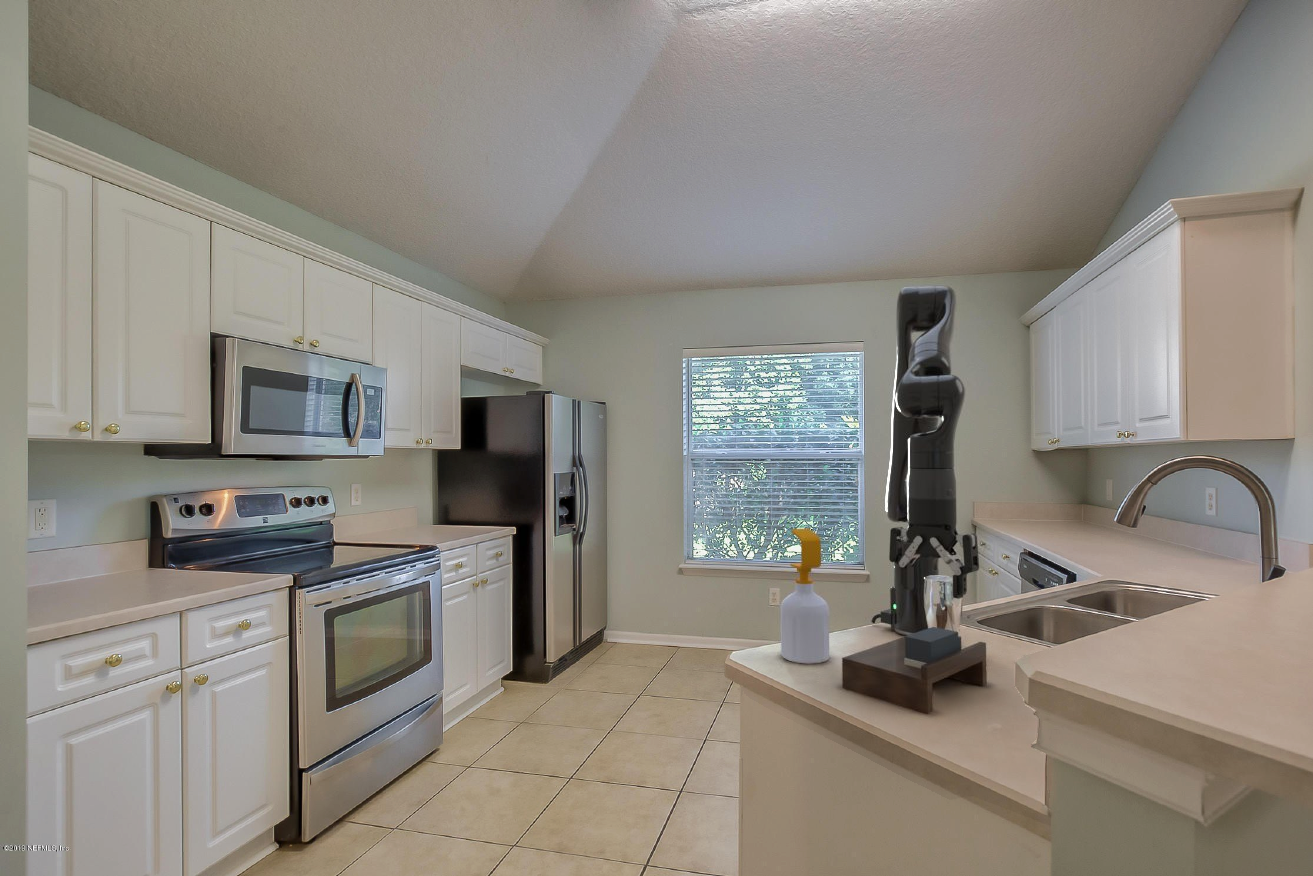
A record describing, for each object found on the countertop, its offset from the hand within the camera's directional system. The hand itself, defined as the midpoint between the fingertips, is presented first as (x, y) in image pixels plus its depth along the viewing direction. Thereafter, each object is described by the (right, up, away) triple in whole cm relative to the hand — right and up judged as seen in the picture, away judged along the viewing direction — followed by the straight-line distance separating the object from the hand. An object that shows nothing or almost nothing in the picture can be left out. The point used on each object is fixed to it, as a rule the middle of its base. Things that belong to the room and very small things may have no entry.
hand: (932, 593), depth 109 cm
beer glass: (+10, -17, +19) cm, 27 cm away
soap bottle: (-17, -17, +18) cm, 30 cm away
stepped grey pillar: (0, -11, 0) cm, 11 cm away
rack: (-2, -16, +2) cm, 16 cm away
